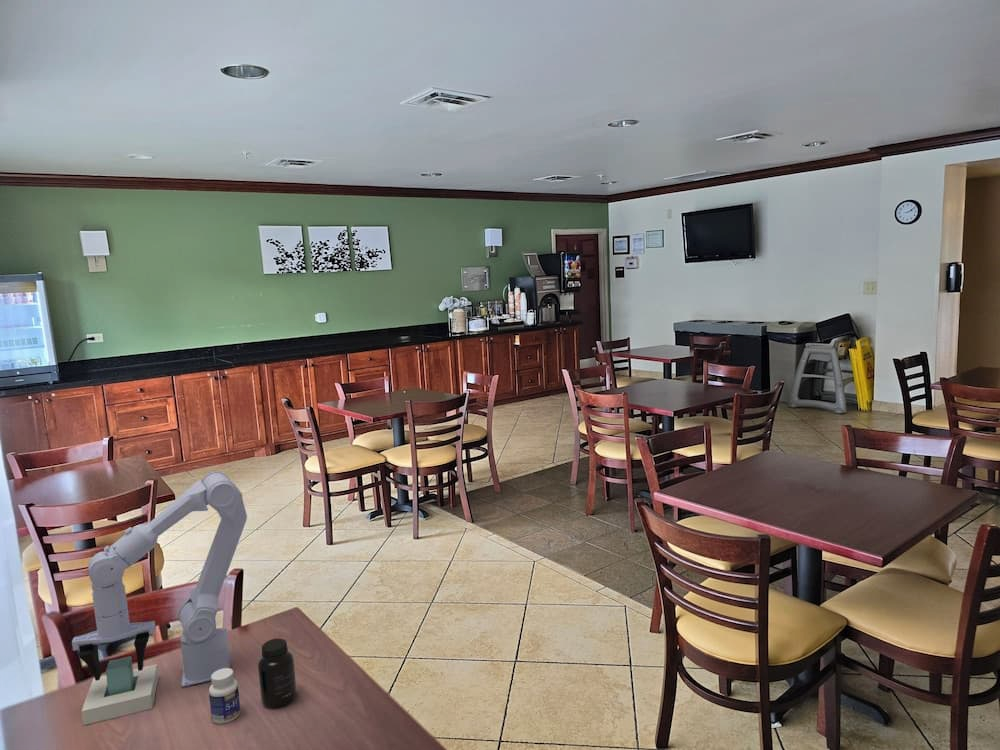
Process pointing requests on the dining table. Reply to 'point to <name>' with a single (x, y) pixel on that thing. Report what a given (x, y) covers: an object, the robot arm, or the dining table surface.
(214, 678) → the pill bottle
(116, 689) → the peg
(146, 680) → the socket block
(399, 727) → the dining table surface
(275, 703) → the supplement bottle
